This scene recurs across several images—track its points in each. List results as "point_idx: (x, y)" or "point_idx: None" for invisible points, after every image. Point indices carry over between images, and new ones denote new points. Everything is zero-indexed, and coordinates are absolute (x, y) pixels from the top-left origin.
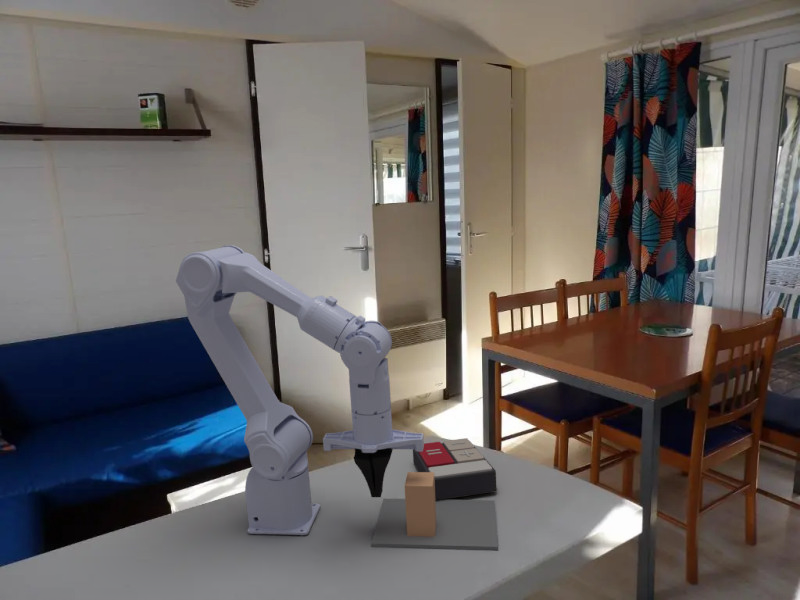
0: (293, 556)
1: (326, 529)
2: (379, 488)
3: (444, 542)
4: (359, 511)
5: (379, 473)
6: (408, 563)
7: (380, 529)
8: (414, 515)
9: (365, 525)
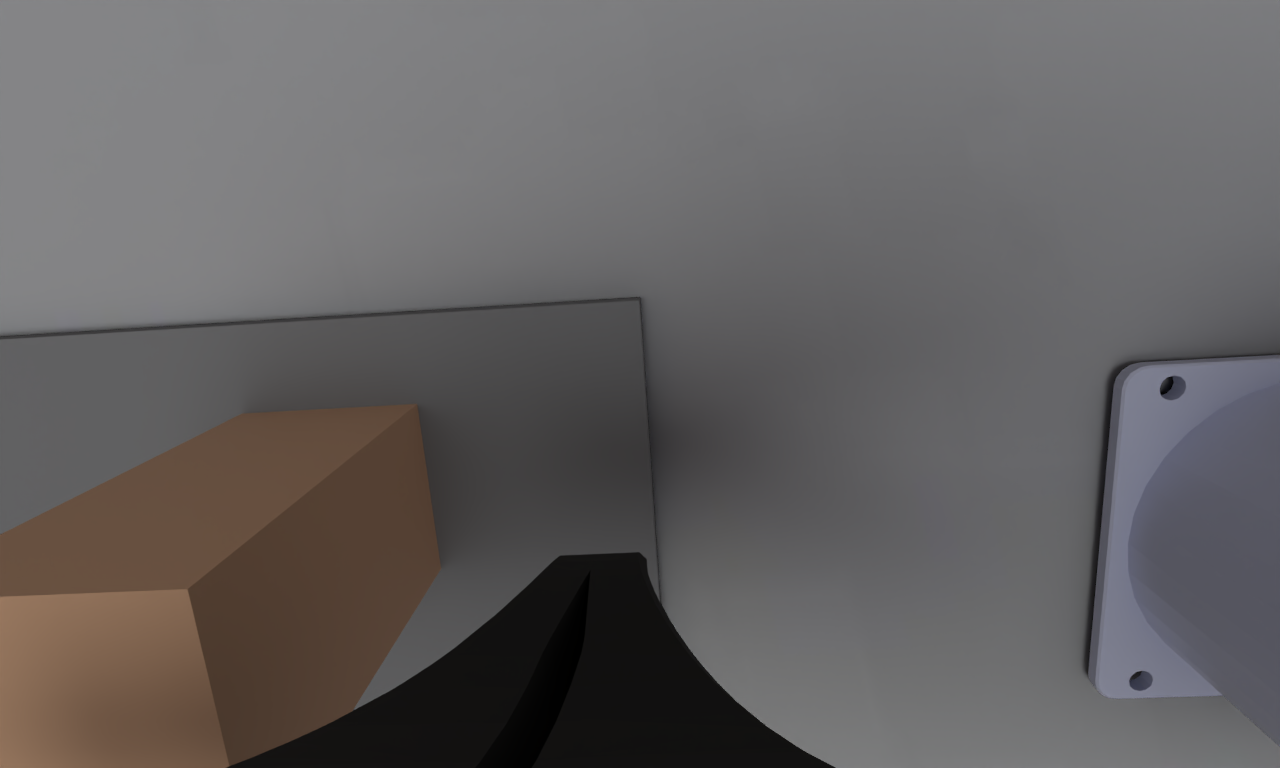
0: (1165, 131)
1: (989, 450)
2: (530, 590)
3: (165, 359)
4: (805, 655)
5: (445, 694)
6: (357, 152)
7: (611, 455)
8: (288, 459)
9: (731, 515)
